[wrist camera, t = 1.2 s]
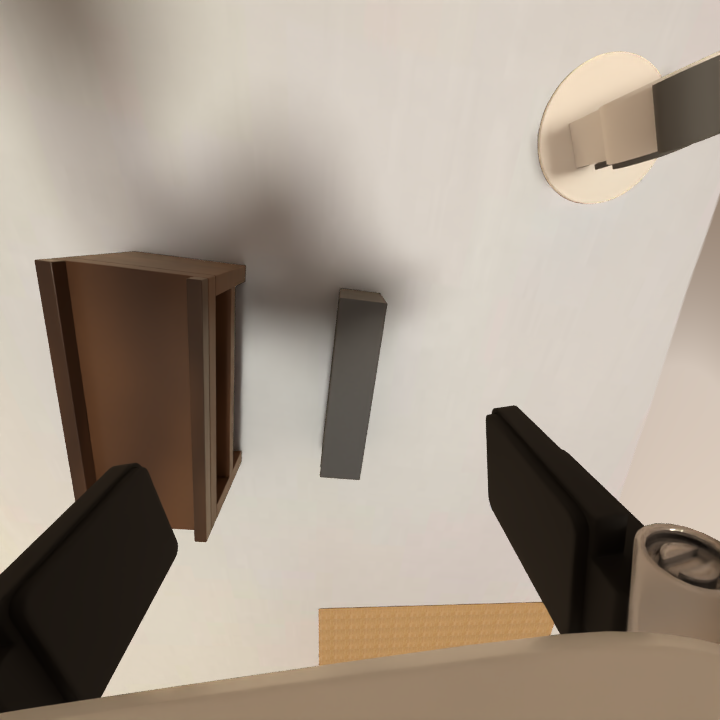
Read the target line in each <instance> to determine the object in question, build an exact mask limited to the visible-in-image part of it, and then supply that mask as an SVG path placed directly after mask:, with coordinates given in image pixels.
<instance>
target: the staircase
mask: <svg viewBox="0 0 720 720" xmlns="http://www.w3.org/2000/svg"><path fill="white" fill-rule="evenodd" d="M553 625H554V622H553V620H552V618H551V616H550V615H549V613H548V611H547V609H546V607H545V605H544V604H543V602H538V603H504V604H470V605H435V606H401V607H367V608H332V609H319V666H321V665H328V664H335V663H342V662H349V661H357V660H364V659H371V658H378V657H386V656H393V655H400V654H407V653H415V652H422V651H429V650H436V649H443V648H451V647H458V646H465V645H473V644H482V643H490V642H499V641H507V640H516V639H524V638H533V637H541V636H549V635H550V634H551V631H552V628H553Z"/></svg>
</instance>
